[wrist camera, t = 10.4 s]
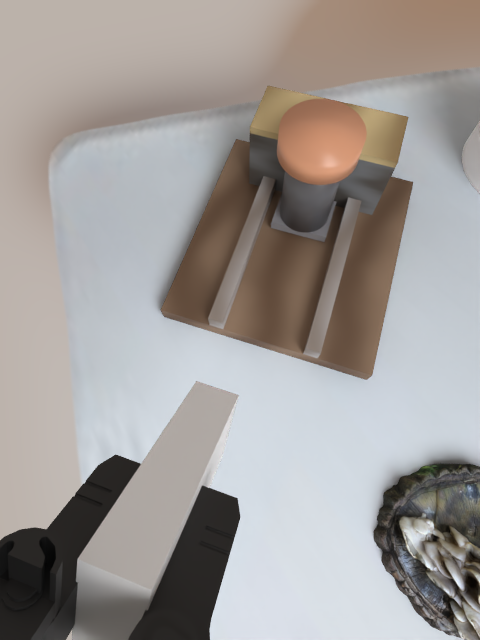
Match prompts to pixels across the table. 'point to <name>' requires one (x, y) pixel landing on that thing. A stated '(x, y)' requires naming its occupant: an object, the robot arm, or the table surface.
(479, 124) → the honey pot
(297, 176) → the knob
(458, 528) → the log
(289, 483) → the table surface
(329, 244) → the brown sliding knob board
